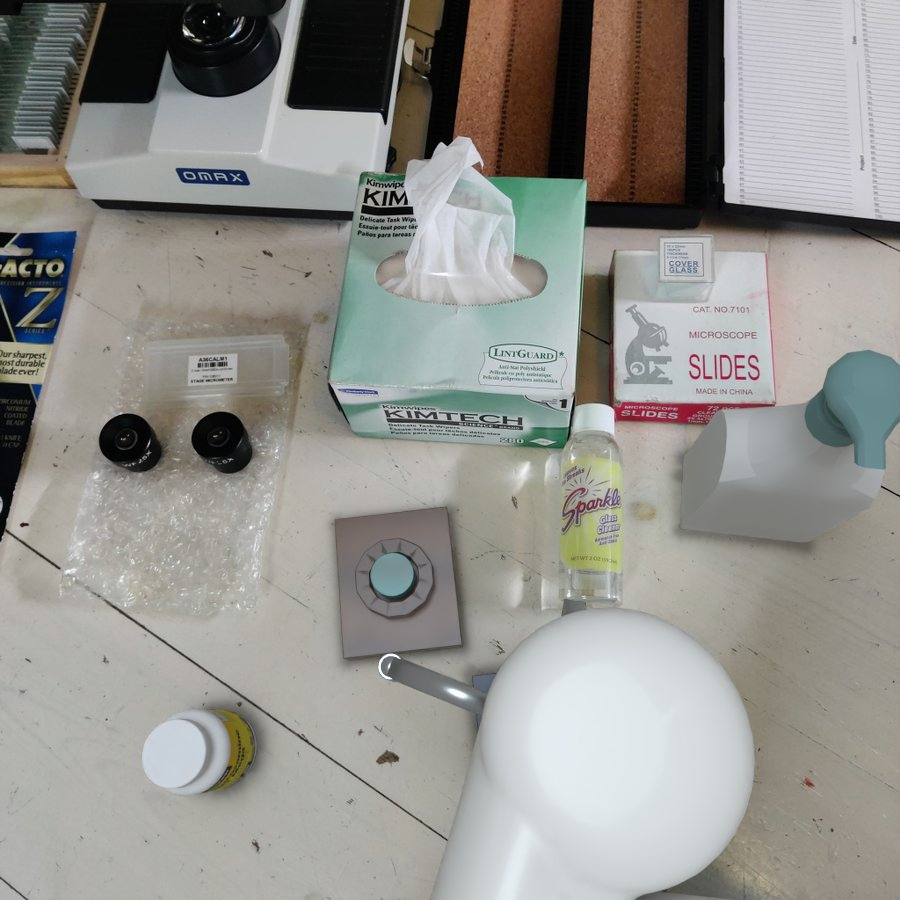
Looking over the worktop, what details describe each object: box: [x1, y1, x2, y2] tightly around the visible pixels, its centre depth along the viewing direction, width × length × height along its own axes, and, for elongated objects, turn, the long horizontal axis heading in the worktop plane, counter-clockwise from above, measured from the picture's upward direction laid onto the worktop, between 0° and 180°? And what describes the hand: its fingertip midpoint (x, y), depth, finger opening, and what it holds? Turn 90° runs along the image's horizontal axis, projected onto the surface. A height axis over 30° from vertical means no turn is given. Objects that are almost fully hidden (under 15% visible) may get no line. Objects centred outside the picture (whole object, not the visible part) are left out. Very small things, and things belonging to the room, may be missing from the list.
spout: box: [377, 653, 488, 716], centre depth 48 cm, size 13×4×6 cm, turn 69°
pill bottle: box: [141, 708, 258, 797], centre depth 63 cm, size 6×6×11 cm
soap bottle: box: [679, 349, 900, 544], centre depth 59 cm, size 11×8×27 cm
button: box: [370, 553, 416, 599], centre depth 67 cm, size 4×4×2 cm
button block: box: [334, 506, 464, 661], centre depth 70 cm, size 12×10×4 cm
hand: (549, 730), depth 50 cm, fingers closed on spout, 4 cm apart
